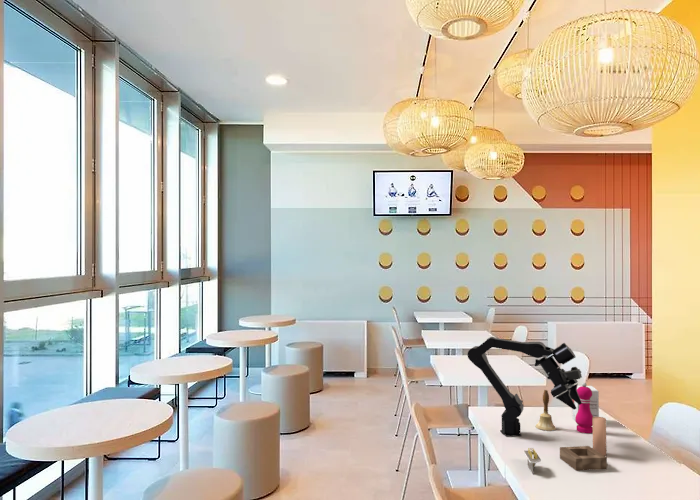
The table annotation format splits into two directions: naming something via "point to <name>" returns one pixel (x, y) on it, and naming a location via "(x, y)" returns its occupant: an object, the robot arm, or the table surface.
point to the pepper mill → (584, 410)
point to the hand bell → (545, 416)
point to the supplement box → (593, 405)
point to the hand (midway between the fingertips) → (578, 406)
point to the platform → (529, 458)
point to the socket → (583, 458)
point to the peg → (599, 434)
